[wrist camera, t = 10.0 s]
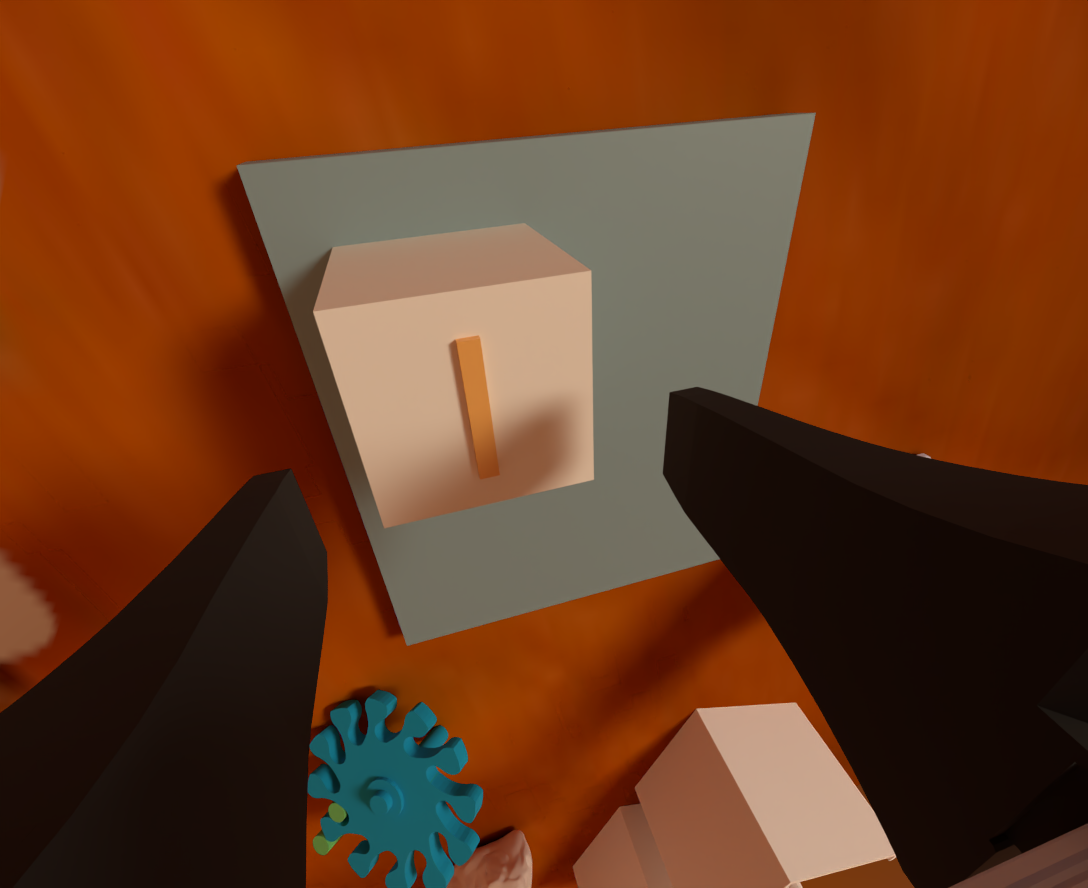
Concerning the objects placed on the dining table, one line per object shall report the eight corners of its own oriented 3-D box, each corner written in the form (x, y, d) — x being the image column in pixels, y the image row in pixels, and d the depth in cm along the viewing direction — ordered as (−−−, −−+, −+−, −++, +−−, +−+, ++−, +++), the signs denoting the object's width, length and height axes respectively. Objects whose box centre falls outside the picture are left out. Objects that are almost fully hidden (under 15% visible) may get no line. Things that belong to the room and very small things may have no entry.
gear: (395, 669, 24) (511, 867, 22) (455, 621, 30) (552, 777, 28) (255, 762, 27) (349, 940, 26) (333, 703, 33) (414, 847, 31)
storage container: (694, 706, 39) (790, 882, 30) (794, 700, 43) (903, 852, 34) (571, 864, 49) (615, 1028, 40) (662, 846, 54) (718, 990, 45)
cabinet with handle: (524, 223, 15) (594, 272, 10) (537, 387, 18) (596, 483, 14) (332, 247, 14) (311, 315, 9) (381, 417, 17) (384, 533, 13)
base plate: (790, 113, 17) (815, 112, 16) (715, 541, 28) (727, 556, 27) (246, 161, 14) (236, 165, 13) (405, 625, 25) (407, 645, 24)
